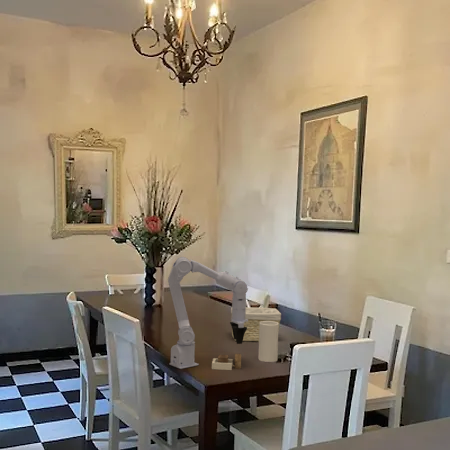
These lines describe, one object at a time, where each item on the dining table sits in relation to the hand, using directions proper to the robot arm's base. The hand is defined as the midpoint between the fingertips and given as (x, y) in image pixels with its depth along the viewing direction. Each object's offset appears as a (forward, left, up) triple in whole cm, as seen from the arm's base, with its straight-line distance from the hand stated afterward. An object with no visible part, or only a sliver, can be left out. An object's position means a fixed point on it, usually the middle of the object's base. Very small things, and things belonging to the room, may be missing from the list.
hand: (237, 341), depth 223 cm
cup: (+16, -2, -10) cm, 19 cm away
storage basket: (+38, +29, -10) cm, 49 cm away
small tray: (-8, 0, -10) cm, 12 cm away
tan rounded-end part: (-6, -2, -10) cm, 11 cm away
